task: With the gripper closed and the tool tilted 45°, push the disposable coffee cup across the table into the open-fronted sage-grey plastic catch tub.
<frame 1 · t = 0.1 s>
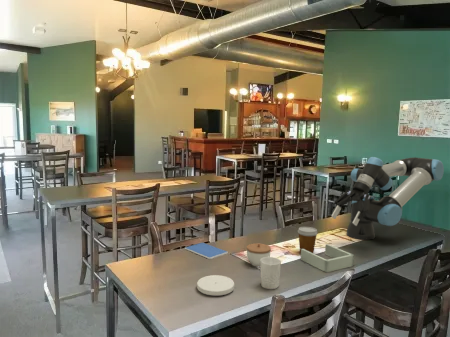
hand: (343, 220, 177), 15 cm above the table, tool tilted 35°, fingers open, 13 cm apart
white cup: (269, 285, 139), on the table
catch tub: (326, 262, 163), on the table
disposable coffee cup: (306, 253, 175), on the table
blue notebook: (205, 252, 175), on the table
plastic lid: (215, 289, 135), on the table
lidded jar: (258, 264, 160), on the table
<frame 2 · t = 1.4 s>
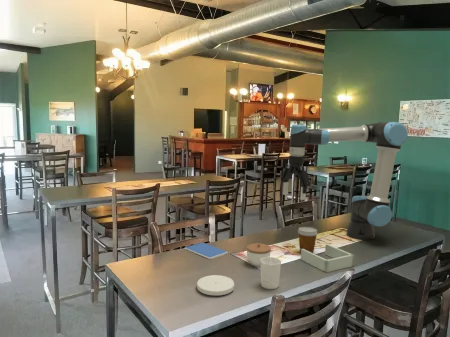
hand: (293, 197, 182), 25 cm above the table, tool pointing down, fingers open, 13 cm apart
nothing on the table moved.
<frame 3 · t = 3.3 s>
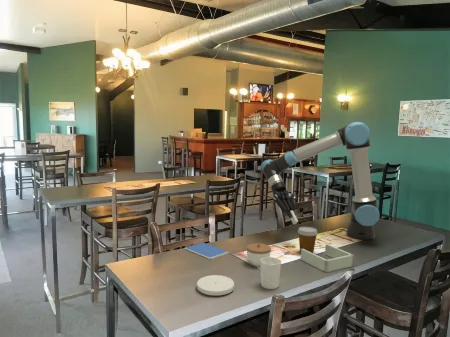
hand: (295, 222, 181), 13 cm above the table, tool tilted 45°, fingers closed
nothing on the table moved.
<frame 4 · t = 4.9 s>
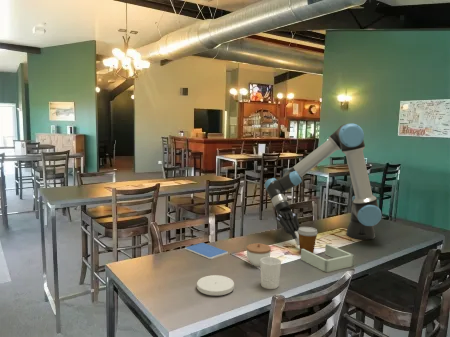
hand: (300, 244, 178), 3 cm above the table, tool tilted 45°, fingers closed
disposable coffee cup: (306, 253, 175), on the table, touching gripper
everything else where it was.
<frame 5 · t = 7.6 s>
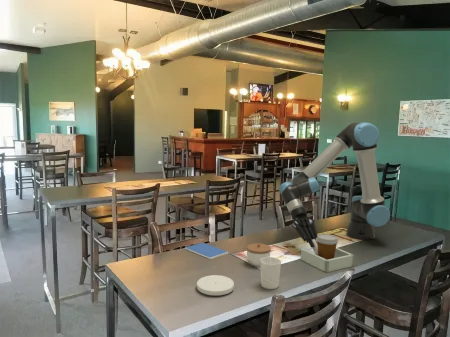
hand: (318, 253, 167), 3 cm above the table, tool tilted 45°, fingers closed
disposable coffee cup: (325, 262, 163), on the table, touching gripper
everything else where it was.
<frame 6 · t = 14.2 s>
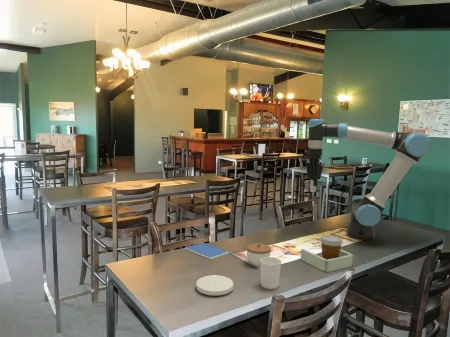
hand: (313, 191, 193), 26 cm above the table, tool pointing down, fingers closed
disposable coffee cup: (330, 264, 161), on the table
everything else where it was.
at the end: disposable coffee cup inside the target area (0.7 cm from its centre), on the table; disposable coffee cup moved 15.4 cm from its start; the gripper is holding nothing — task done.
